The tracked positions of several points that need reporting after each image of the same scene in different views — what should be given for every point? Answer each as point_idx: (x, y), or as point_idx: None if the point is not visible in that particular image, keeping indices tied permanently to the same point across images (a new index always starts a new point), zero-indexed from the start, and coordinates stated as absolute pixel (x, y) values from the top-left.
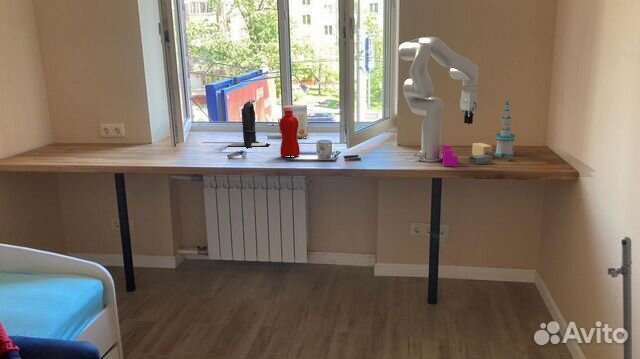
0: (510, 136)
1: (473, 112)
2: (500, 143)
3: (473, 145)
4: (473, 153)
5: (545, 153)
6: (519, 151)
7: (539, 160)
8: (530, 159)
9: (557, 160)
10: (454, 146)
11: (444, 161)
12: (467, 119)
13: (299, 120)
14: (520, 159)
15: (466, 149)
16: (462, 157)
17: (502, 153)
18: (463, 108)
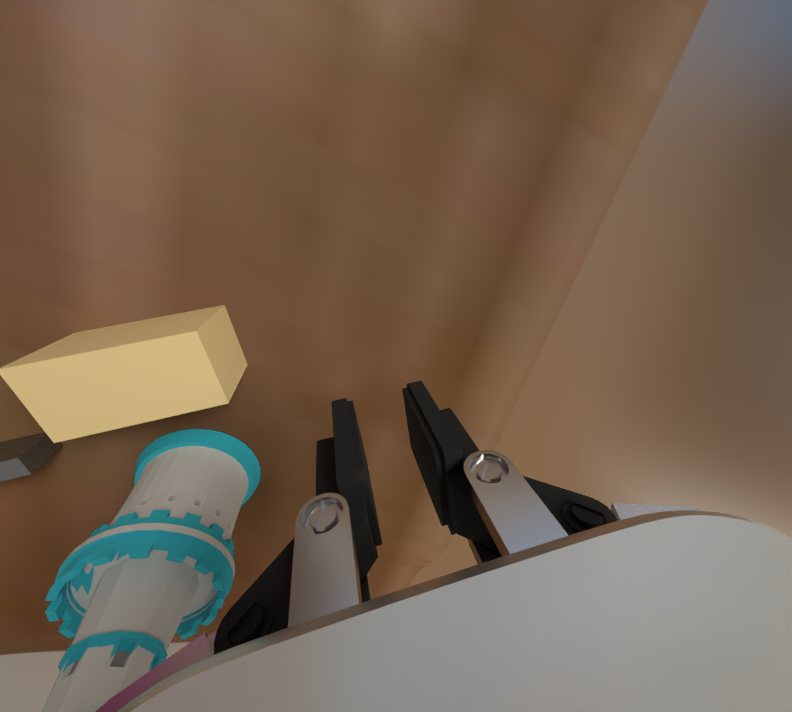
0: (69, 621)
1: (132, 697)
2: (124, 511)
3: (187, 329)
4: (203, 311)
5: (218, 620)
6: (279, 547)
7: (26, 585)
8: (53, 557)
9: (37, 640)
10: (500, 286)
11: None
12: (335, 439)
13: None
14: (47, 518)
15: (392, 325)
16: (97, 184)
17: (1, 461)
18: (533, 604)
